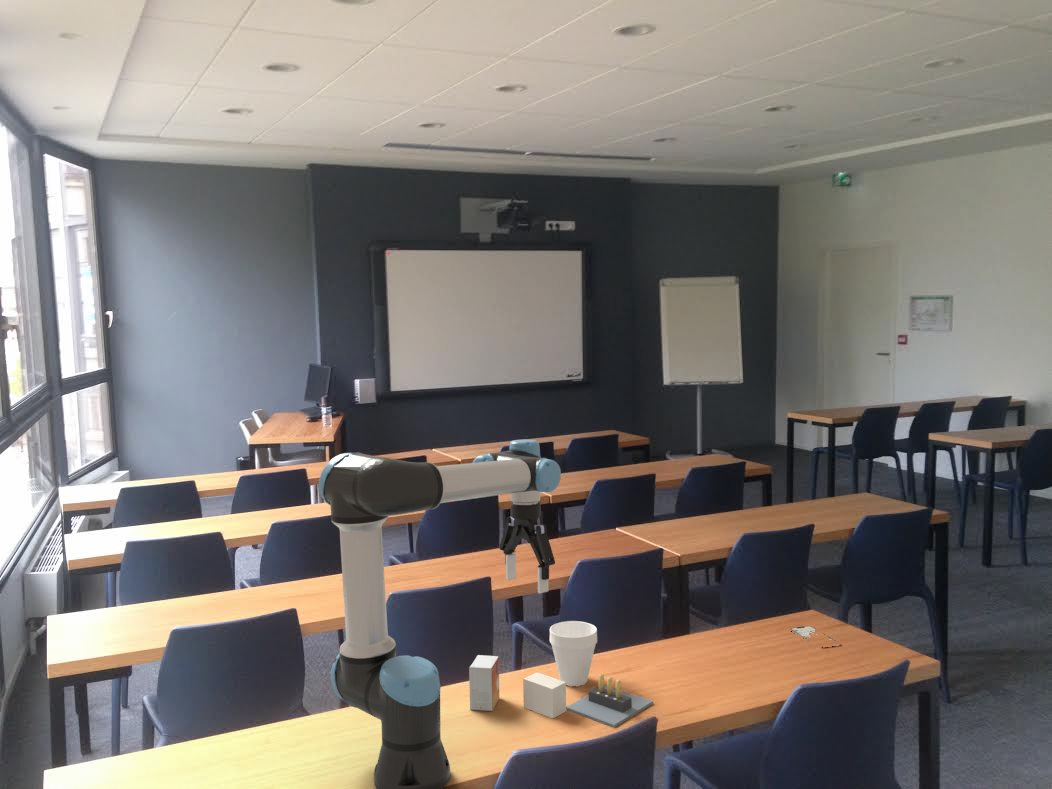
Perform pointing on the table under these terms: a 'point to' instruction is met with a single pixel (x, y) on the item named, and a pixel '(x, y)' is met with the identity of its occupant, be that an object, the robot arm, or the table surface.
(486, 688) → the small box
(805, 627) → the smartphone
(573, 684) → the cup
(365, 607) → the robot arm
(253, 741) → the table surface
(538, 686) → the block
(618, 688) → the header
